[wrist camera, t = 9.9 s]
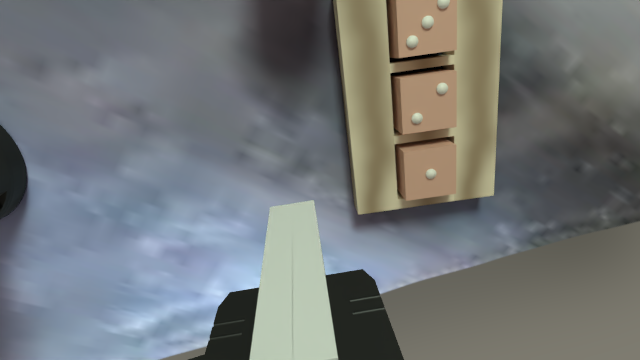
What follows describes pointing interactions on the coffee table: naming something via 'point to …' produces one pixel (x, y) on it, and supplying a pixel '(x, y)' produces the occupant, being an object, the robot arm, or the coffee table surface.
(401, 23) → the tile three pips
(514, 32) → the coffee table surface
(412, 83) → the tile two pips
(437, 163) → the tile one pip
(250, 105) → the coffee table surface
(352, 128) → the board
